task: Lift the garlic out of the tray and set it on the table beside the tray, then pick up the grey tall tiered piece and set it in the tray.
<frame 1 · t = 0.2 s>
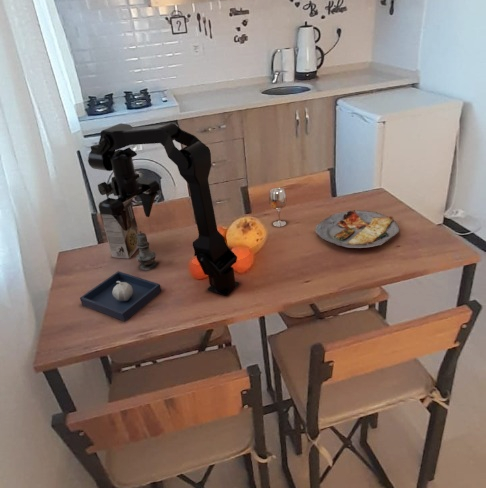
hand: (136, 223, 135), 15 cm above the table, tool pointing down, fingers open, 9 cm apart
food plate: (357, 234, 146), on the table
grey tall tiered piece: (148, 266, 143), on the table
coffee box: (127, 251, 152), on the table
tray: (122, 298, 129), on the table
wineglass: (279, 224, 157), on the table
garlic: (124, 298, 128), resting on tray
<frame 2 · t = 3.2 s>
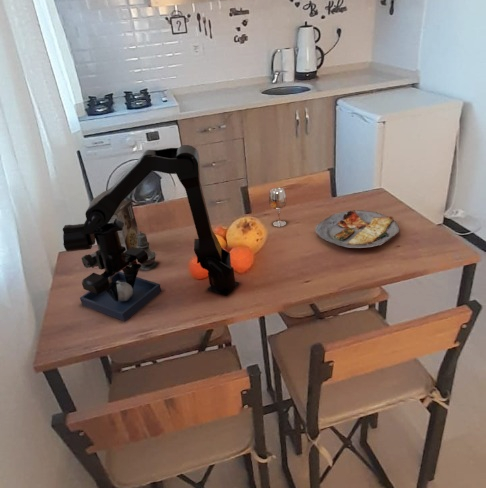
hand: (123, 295, 128), 1 cm above the table, tool pointing down, fingers closed on garlic, 5 cm apart
garlic: (124, 298, 128), resting on tray, touching gripper
everything else where it was.
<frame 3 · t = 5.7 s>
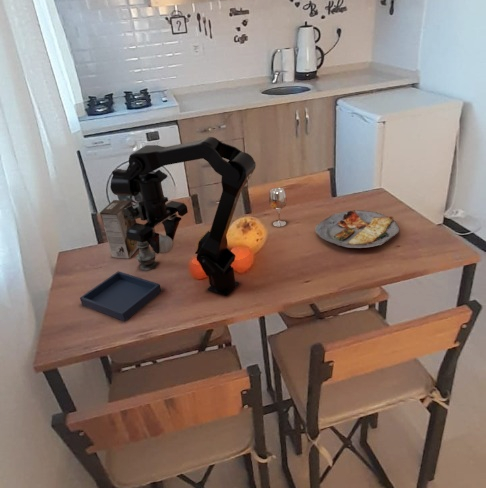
hand: (164, 248, 129), 11 cm above the table, tool pointing down, fingers closed on garlic, 5 cm apart
garlic: (164, 252, 129), point 10 cm above the table, touching gripper
everything else where it was.
when the fingers open (1 cm above the table, at t = 8.6 s): garlic stays where it is, on the table.
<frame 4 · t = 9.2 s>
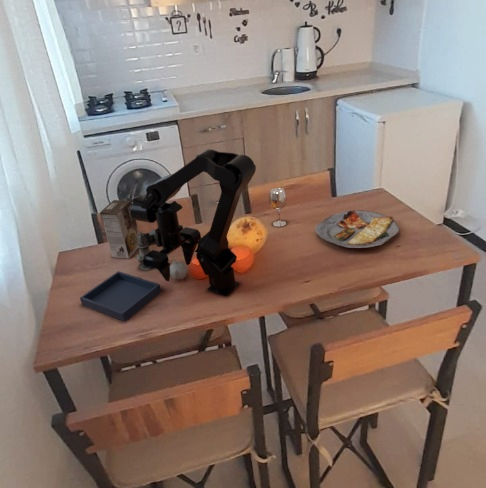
hand: (178, 272, 134), 2 cm above the table, tool pointing down, fingers open, 9 cm apart
garlic: (179, 277, 135), on the table
everything else where it was.
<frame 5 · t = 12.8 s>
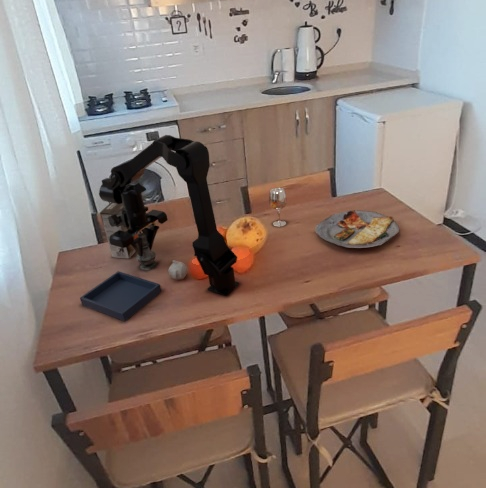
hand: (145, 253, 140), 5 cm above the table, tool pointing down, fingers closed on grey tall tiered piece, 3 cm apart
grey tall tiered piece: (148, 266, 143), on the table, touching gripper
everything else where it was.
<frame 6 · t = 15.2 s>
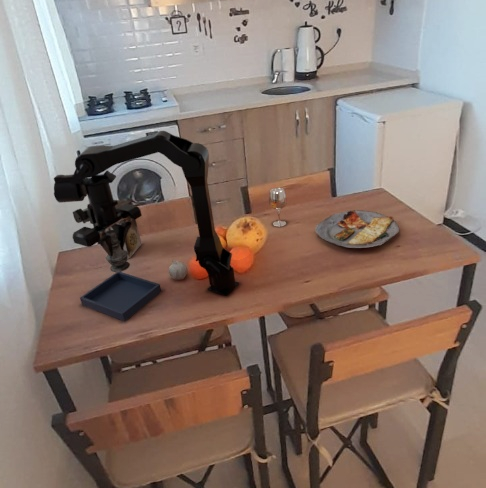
hand: (116, 252, 125), 13 cm above the table, tool pointing down, fingers closed on grey tall tiered piece, 3 cm apart
grey tall tiered piece: (120, 267, 127), point 8 cm above the table, touching gripper
everything else where it was.
when the fingers open (5 cm above the table, at t = 17.6 s): grey tall tiered piece stays where it is, resting on tray.
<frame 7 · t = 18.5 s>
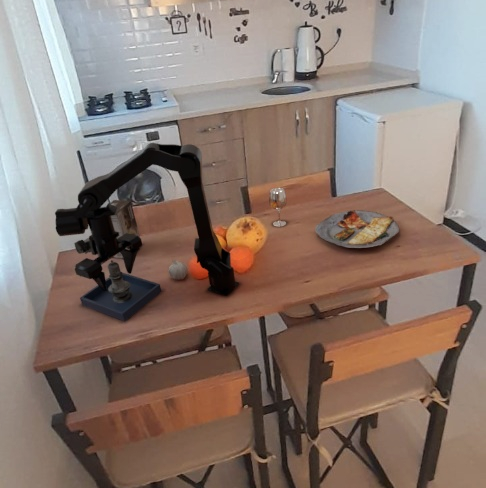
hand: (117, 281, 126), 5 cm above the table, tool pointing down, fingers open, 9 cm apart
grey tall tiered piece: (122, 297, 129), resting on tray
everything else where it was.
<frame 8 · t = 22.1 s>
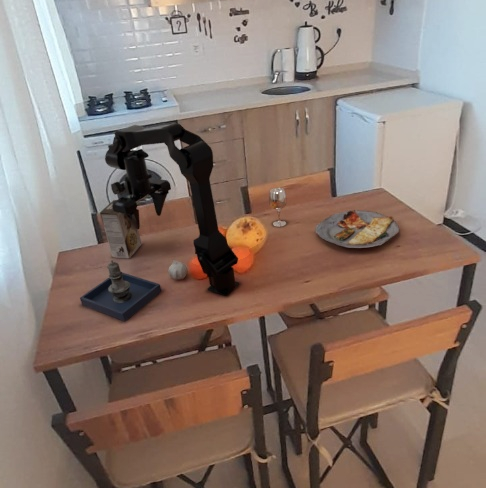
hand: (148, 222, 139), 13 cm above the table, tool pointing down, fingers open, 9 cm apart
nothing on the table moved.
at the end: garlic inside the target area (0.1 cm from its centre), on the table; grey tall tiered piece inside the target area in the tray (0.1 cm from its centre), point 0.1 cm above the tray's base; grey tall tiered piece tilted 0° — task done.
